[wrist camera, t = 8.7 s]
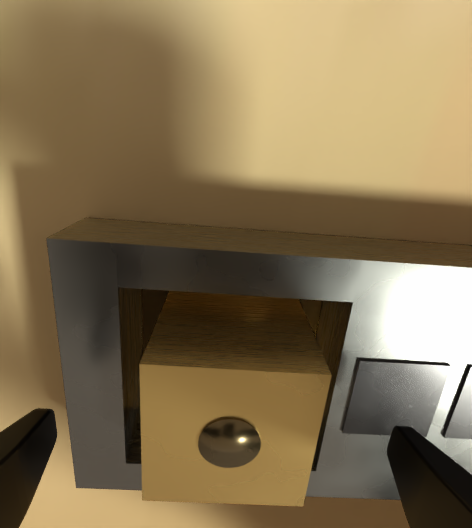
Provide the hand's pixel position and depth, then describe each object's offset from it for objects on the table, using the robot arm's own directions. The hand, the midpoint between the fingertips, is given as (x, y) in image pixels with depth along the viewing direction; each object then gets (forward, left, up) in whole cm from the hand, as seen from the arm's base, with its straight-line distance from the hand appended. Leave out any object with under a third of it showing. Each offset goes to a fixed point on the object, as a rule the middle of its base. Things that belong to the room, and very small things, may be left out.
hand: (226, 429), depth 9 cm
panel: (-3, 0, -4) cm, 5 cm away
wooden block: (0, 0, -4) cm, 4 cm away
